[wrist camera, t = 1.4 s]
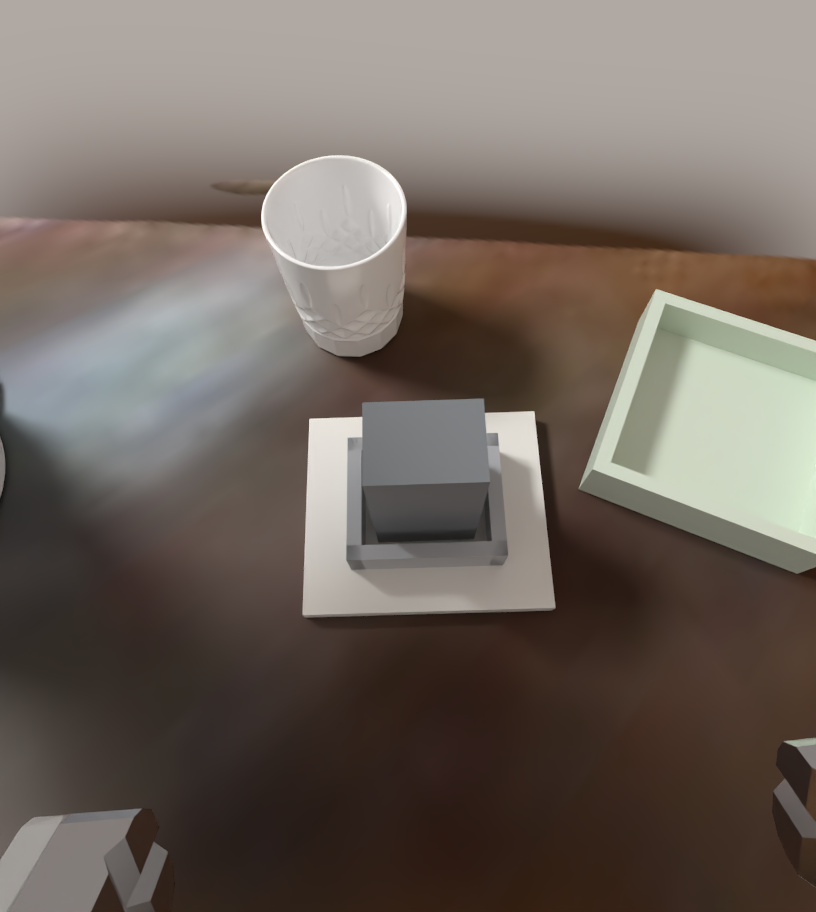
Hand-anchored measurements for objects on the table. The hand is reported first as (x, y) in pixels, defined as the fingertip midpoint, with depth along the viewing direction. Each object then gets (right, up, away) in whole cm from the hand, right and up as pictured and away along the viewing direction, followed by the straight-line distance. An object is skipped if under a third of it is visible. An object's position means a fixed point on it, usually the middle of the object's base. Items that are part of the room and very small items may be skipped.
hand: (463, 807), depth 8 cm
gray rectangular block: (0, +2, +29) cm, 29 cm away
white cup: (-4, +14, +35) cm, 38 cm away
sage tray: (+18, +6, +31) cm, 37 cm away
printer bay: (0, +1, +30) cm, 30 cm away
